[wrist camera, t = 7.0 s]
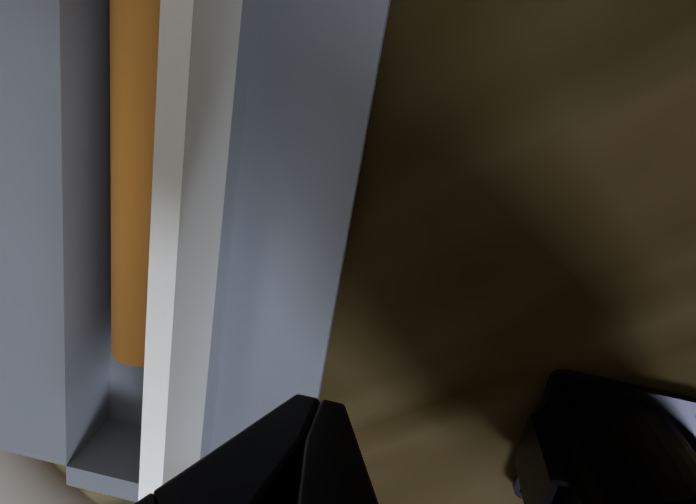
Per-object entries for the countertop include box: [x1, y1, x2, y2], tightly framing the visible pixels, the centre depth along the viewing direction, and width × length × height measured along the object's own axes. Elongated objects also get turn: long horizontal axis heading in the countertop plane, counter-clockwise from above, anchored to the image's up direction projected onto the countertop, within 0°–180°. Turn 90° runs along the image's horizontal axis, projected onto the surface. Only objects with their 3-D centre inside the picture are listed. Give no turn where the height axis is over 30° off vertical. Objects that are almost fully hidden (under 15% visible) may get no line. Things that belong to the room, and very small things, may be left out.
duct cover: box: [138, 0, 243, 501], centre depth 15 cm, size 6×24×1 cm
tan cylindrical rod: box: [110, 0, 160, 367], centre depth 20 cm, size 14×2×2 cm
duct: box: [0, 0, 391, 502], centre depth 20 cm, size 17×26×4 cm, turn 170°
